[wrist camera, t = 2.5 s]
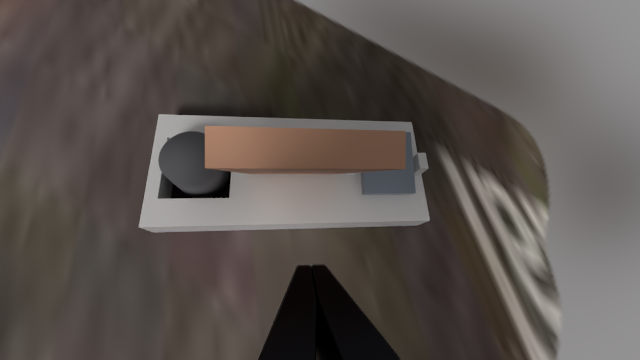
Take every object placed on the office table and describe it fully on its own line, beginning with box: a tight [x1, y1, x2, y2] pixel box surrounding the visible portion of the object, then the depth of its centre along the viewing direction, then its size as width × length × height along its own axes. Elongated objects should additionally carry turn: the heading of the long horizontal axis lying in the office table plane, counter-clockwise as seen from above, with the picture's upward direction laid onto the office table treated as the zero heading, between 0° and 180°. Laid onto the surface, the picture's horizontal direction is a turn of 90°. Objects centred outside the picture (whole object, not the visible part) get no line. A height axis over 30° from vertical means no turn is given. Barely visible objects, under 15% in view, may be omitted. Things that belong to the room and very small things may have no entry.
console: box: [139, 114, 430, 232], centre depth 19 cm, size 8×19×4 cm, turn 93°
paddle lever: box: [205, 126, 406, 174], centre depth 13 cm, size 1×6×10 cm, turn 93°
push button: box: [158, 131, 229, 198], centre depth 18 cm, size 4×4×3 cm
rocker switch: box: [361, 132, 416, 195], centre depth 19 cm, size 4×4×1 cm
